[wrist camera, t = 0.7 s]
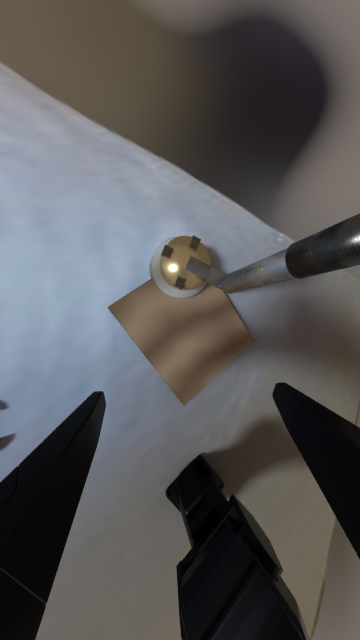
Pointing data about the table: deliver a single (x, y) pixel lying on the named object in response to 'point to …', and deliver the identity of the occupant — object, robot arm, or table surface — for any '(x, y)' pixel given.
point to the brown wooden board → (182, 330)
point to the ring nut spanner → (263, 260)
